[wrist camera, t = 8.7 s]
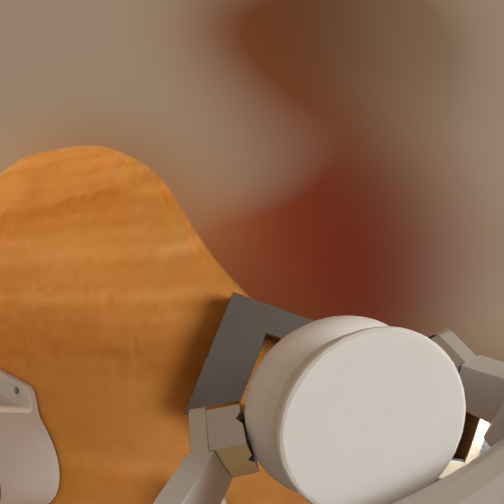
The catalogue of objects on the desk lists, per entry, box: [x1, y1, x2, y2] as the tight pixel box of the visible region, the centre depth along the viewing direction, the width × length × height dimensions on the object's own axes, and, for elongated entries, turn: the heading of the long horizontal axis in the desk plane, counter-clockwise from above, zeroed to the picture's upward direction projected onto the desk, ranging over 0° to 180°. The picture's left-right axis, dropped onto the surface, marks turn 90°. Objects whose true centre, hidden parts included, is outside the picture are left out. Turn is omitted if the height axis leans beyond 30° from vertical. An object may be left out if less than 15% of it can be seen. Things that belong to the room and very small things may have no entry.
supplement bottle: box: [245, 316, 466, 504], centre depth 10 cm, size 5×5×10 cm
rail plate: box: [185, 292, 490, 480], centre depth 24 cm, size 30×11×3 cm, turn 69°
